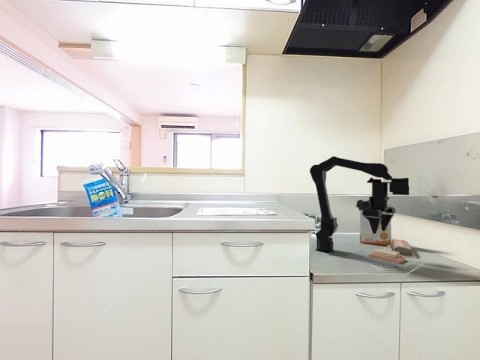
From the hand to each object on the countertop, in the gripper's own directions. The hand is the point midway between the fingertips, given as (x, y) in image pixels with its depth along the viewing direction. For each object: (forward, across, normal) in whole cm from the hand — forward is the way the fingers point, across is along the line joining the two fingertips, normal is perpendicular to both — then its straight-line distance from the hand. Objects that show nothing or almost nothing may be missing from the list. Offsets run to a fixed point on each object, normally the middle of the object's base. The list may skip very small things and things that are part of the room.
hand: (379, 232), depth 108 cm
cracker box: (+11, -27, -12) cm, 31 cm away
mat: (+11, +2, -1) cm, 11 cm away
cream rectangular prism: (+10, -1, +3) cm, 11 cm away
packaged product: (+12, -17, +3) cm, 21 cm away
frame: (+11, -1, +3) cm, 11 cm away
